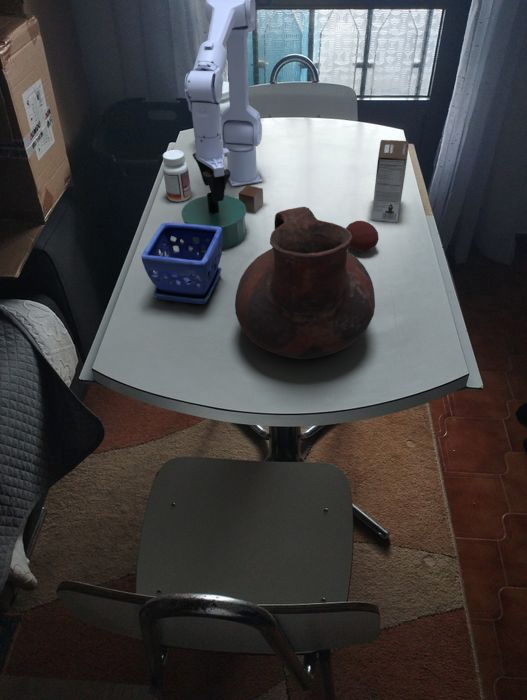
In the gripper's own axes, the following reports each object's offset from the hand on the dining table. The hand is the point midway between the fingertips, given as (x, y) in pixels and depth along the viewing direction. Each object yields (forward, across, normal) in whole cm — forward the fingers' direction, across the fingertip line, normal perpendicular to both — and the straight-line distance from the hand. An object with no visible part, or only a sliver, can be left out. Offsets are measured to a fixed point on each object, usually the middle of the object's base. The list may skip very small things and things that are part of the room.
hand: (213, 192), depth 132 cm
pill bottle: (+10, +20, +5) cm, 23 cm away
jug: (+10, -40, -6) cm, 41 cm away
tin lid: (+5, 0, 0) cm, 5 cm away
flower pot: (+10, -19, +11) cm, 24 cm away
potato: (+10, -17, -28) cm, 35 cm away
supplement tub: (+11, +43, -12) cm, 46 cm away
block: (+10, +8, -11) cm, 17 cm away
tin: (+10, 0, 0) cm, 10 cm away
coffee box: (+10, -6, -40) cm, 42 cm away
